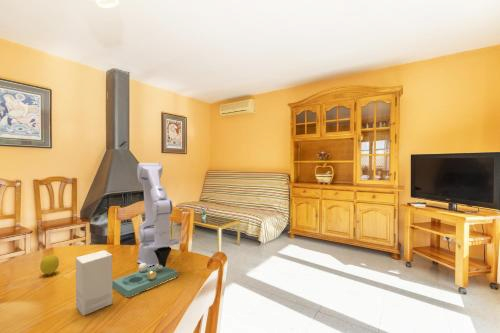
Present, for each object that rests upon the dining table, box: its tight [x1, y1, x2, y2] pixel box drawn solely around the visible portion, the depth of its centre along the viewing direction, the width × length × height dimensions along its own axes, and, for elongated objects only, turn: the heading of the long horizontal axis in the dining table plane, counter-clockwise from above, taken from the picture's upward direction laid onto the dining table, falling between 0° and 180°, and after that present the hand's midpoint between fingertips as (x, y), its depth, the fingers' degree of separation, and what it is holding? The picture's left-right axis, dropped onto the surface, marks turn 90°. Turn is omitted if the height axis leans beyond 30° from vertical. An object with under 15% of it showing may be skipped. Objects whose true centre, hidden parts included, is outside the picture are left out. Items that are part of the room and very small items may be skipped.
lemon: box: [39, 253, 60, 275], centre depth 95 cm, size 6×6×8 cm
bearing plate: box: [112, 265, 179, 298], centre depth 90 cm, size 19×11×2 cm, turn 143°
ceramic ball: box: [138, 263, 149, 272], centre depth 94 cm, size 3×3×3 cm
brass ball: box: [147, 270, 157, 280], centre depth 87 cm, size 3×3×3 cm
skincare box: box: [75, 249, 113, 317], centre depth 75 cm, size 8×7×16 cm
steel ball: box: [154, 263, 163, 272], centre depth 94 cm, size 3×3×3 cm
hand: (162, 266), depth 95 cm, fingers closed, pressing on steel ball
